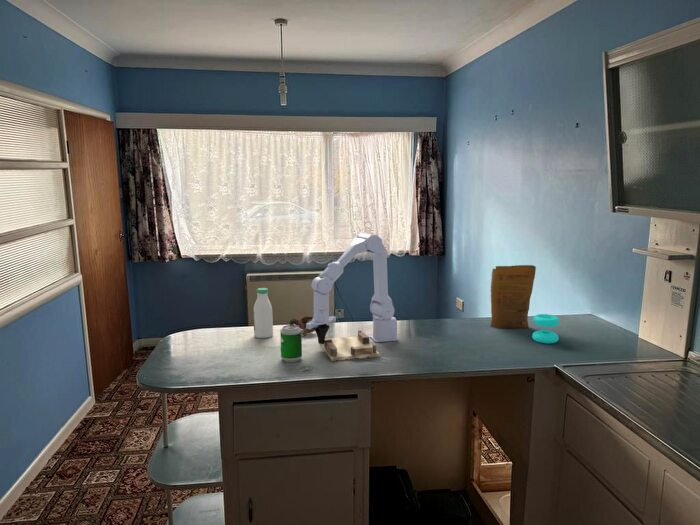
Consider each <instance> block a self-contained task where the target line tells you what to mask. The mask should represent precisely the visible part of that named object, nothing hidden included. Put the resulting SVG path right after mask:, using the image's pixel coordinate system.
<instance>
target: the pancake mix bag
mask: <svg viewBox="0 0 700 525" xmlns="http://www.w3.org/2000/svg"><path fill="white" fill-rule="evenodd" d="M536 270H537V266H536V265H533V264H520V265H519V264H518V265H496V266H495V268H492V271H491V281H490V306H491V307H490V310H491V311H490V313H491V322H490V327H493V328H496V329H521V330H522V329H528V328H529V327H530V326H529V321H528V318H529V317H528V316H529V310H530V301H531V297H532V292H533V287H534V282H535V278H536Z"/></svg>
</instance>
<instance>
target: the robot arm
mask: <svg viewBox="0 0 700 525" xmlns="http://www.w3.org/2000/svg"><path fill="white" fill-rule="evenodd" d="M363 253H368V254H370V255H371V256H372V263H373V264H372V265H373V266H372V267H373V269H372V270H373V288H374V289H373V292H374V293H373V295H372V297H371V302H370V305H369V310H370V313H371V314H372V334H371V335H369V338H370V339H371V340H373V341H374V343H380V342H381V343H383V342H394V341H395V342H396V341H398V322H397V318H396V317H395V316H394V315H395V307H394V305H393V300H392V298H391V297H390V296H389V289H388V288H389V286H388V285H389V284H388V283H389V282H388V260H387V259H388V257H387V256H388V255H387V249H386V247H385V245H384V243H383V238H381V237H379V236H378V234H371V233H365V232H360V233H359V234H357V235H356V237H354V238H353V240H352V241H351V243H350V244H349V246H348V247H347V248H346V250H345V251H344V252H343V253H342V255H341V256H340V257H339V258H338V259H337V260H336V261H332V262H329V263H328V264H327V267H326V268H324V270H323V271H322V272H320V273H319V274H318V276H317V277H314V278H313V279H312V282H311V284H310V287H311V289H312V290H313V319H312V320H311V321H309V322H307V323H306V329H312V328H314V330H315V331H314V332H315V334H316V336H317V341H318V342H317V343H318V344H320V345H321V344H324V342H325V336H326V335H327V334H328V332H329V330H330V323H335V322H337V317H336V316H334V315H331V316H330V292H331V291H332V288H333V285H334V283H335V282H336V281H338V280H337V279H339V278H340V276H341V275H343V274H344V268H345V267H346V266H347V265H348V263H349V262H350V261H352V260H353V259H354V258H355V257H357V255H358V254H363Z"/></svg>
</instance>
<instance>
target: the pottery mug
mask: <svg viewBox="0 0 700 525" xmlns="http://www.w3.org/2000/svg"><path fill="white" fill-rule="evenodd" d="M313 318H314V316H310V315H304V316H301V317H300V318H299V319H298V318H291V319H290V321H288V322H289V323H288V325H297V326H299V328H301V330H302V336H304V337H305V336H307V335H309V334H311V333H314V332H315V330H314V328H312V329H306V323H308V321H309V322H310V320H311V321H312V319H313Z"/></svg>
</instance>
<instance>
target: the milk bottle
mask: <svg viewBox="0 0 700 525" xmlns="http://www.w3.org/2000/svg"><path fill="white" fill-rule="evenodd" d="M256 294H257V298H256V300H255V302H254V305H253V336H254V338H258V339H267V338H271V337H273V335H274V326H273V324H274V323H273V318H274V317H273V306H272V303H271V301H270V299H269V296H268V294H269V289H268V287H259V288H257V289H256Z"/></svg>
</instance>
